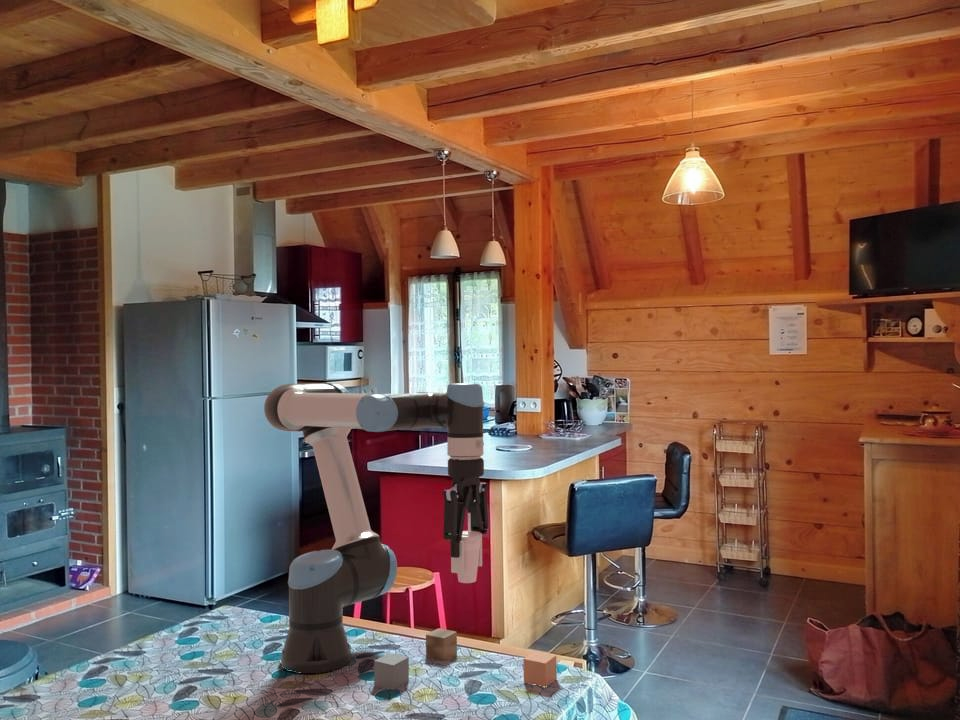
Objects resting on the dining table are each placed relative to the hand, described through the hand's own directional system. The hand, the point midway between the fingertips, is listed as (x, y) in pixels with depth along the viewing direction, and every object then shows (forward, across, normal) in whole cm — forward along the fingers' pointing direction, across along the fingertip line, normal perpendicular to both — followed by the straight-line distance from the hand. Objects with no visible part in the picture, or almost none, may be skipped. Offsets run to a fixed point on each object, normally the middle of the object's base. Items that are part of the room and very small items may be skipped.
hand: (467, 568), depth 155 cm
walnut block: (+23, +9, +13) cm, 28 cm away
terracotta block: (+23, +7, -13) cm, 27 cm away
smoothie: (+3, 0, 0) cm, 3 cm away
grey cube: (+23, -9, +13) cm, 28 cm away
